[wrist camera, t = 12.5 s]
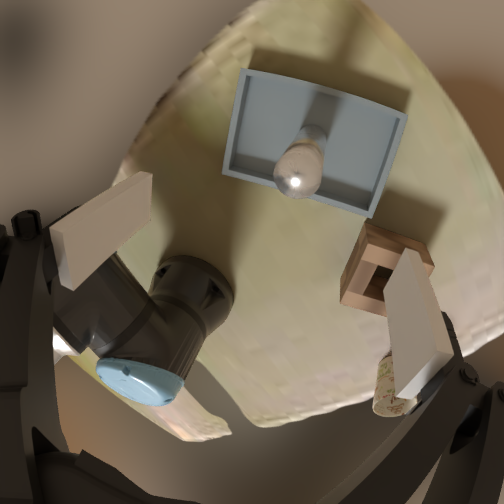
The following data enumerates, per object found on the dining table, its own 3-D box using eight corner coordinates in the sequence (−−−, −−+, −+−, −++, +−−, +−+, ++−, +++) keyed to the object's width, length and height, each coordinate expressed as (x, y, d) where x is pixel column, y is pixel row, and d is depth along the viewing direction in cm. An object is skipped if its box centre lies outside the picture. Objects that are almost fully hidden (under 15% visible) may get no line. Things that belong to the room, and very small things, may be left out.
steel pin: (294, 148, 36) (268, 191, 23) (301, 121, 34) (279, 147, 21) (322, 156, 36) (313, 204, 23) (329, 129, 34) (327, 161, 21)
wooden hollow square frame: (340, 278, 45) (339, 303, 40) (364, 222, 40) (368, 243, 35) (396, 295, 44) (401, 321, 39) (424, 244, 39) (435, 266, 34)
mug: (373, 378, 56) (372, 418, 47) (371, 338, 50) (372, 383, 42) (411, 373, 52) (414, 413, 44) (414, 332, 47) (422, 376, 39)
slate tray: (228, 167, 41) (221, 173, 38) (247, 69, 33) (240, 67, 31) (369, 209, 39) (371, 218, 36) (402, 112, 31) (408, 115, 28)
